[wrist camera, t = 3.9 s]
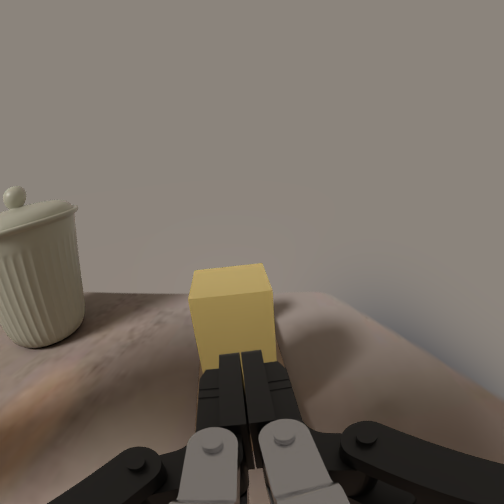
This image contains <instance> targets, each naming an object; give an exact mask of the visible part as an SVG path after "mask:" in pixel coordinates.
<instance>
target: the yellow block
mask: <svg viewBox="0 0 504 504" xmlns="http://www.w3.org/2000/svg"><path fill="white" fill-rule="evenodd" d="M188 301H189V307H190V312H191V318H192V323H193V328H194V333H195V338H196V343H197V348H198V353H199V358H200V362H201V367H202V371H203V373H204V372H205V370H207V369H218V368H219V355H220V354H229V353H238V352H239V354H240V360H241V367H242V357H241V352H246V351H253V350H261V351H262V356H263V361H264V363H267V362H274V361H277V358H276V341H275V324H274V308H273V292H272V288H271V286H270V283H269V280H268V277H267V275H266V272H265V269H264V267H263V264H262V263H259V264H250V265H242V266H231V267H222V268H213V269H203V270H195V271H194V276H193V280H192V284H191V289H190V293H189V297H188ZM242 373H243V367H242ZM243 380H244V376H243ZM244 386H245V385H244Z"/></svg>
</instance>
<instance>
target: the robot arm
mask: <svg viewBox="0 0 504 504" xmlns="http://www.w3.org/2000/svg"><path fill="white" fill-rule="evenodd" d="M241 357H242V367H243V373H242V367H241V360H240V354H239V352H238V353H229V354H220V355H219V368H218V369H207V370H205V372H204V373H203V375H202V376H201V378H200V379H199V391H198V405H197V419H196V432H195V434H194V435H192V437H191V438H190V439H189V441H188V444H187V446H185V447H184V448H182V449H180V450H177V451H174V452H170V453H167V454H163V455H158V454H157V453H156V452H155V451H154V450H152V449H150V448H146V447H133V448H129V449H127V450H125V451H123V452H121V453H120V454H119V455H117V456H116V457H115V458H113V459H112V460H111V461H109V462H108V463H106V464H105V465H104V466H102V467H101V468H99V469H98V470H97V471H95V472H94V473H92V474H91V475H89V476H88V477H87V478H85V479H84V480H82V481H81V482H79V483H78V484H76V485H75V486H73V487H72V488H70V489H69V490H67V491H66V492H64V493H63V494H61V495H60V496H58V497H57V498H55V499H54V500H52V501H51V502H49V503H47V504H249V476H248V470H249V469H255V467H254V459H253V451H252V444H253V450H254V456H255V461H256V467H257V468H263V472H264V478H265V484H266V490H267V494H268V497H269V501H270V504H504V464H500V463H496V462H493V461H489V460H485V459H481V458H478V457H474V456H471V455H468V454H464V453H461V452H458V451H455V450H451V449H448V448H445V447H442V446H439V445H436V444H433V443H430V442H428V441H425V440H422V439H419V438H416V437H414V436H411V435H408V434H405V433H403V432H400V431H398V430H395V429H392V428H390V427H387V426H385V425H382V424H380V423H377V422H373V421H361V422H357V423H354V424H352V425H350V426H349V427H347V428H346V429H345V430H344V432H343V433H342V434H340V433H321V432H317V431H314V430H312V429H310V428H309V427H308V426H306V425H305V424H304V422H303V421H302V418H301V415H300V412H299V409H298V405H297V402H296V399H295V396H294V392H293V389H292V386H291V383H290V380H289V376H288V373H287V370H286V368H285V367H284V366H283V365H282V364H281V363H279V362H278V361H274V362H267V363H264V361H263V356H262V351H261V350H253V351H246V352H241ZM243 376H244V380H243ZM244 385H245V386H244ZM250 433H251V435H250ZM251 439H252V443H251Z"/></svg>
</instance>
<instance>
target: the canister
mask: <svg viewBox="0 0 504 504" xmlns="http://www.w3.org/2000/svg"><path fill="white" fill-rule="evenodd" d="M25 200H26V192H25V190H24V189H23V188H22V187H20V186H15V187H11V188H9V189H7V190H6V192H5V193H4V196H3V201H4V204H5V205H6V207H7V208H8V209H9V210H7V211H4V212H1V213H0V324H1V326H2V328H3V330H4V331H5V333H6V334H7V336H8V337H9V338H10V339H11V340H12V341H13V342H14V343H16V344H18V345H19V346H23V347H25V348H26V347H28V348H37V347H43V346H48V345H52V344H53V343H57V342H58V341H61V340H63V339H64V338H66V337H68V336H69V335H71V334H72V333H73V332H74V331H76V329H77V328H78V327H79V326H80V324H81V323H82V320H83V318H84V313H85V301H84V294H83V287H82V279H81V271H80V264H79V256H78V248H77V237H76V227H75V216H74V213H75V212H76V211H77V210H78V206H75V205H71V204H70V203H69V202H67V201H65V200H51V201H44V202H38V203H33V204H29V205H25V206H23V205H24V203H25Z"/></svg>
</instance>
